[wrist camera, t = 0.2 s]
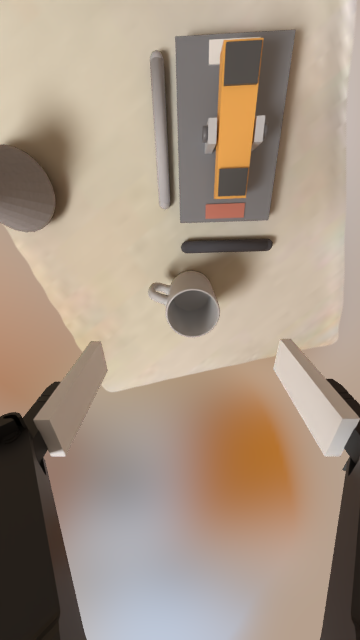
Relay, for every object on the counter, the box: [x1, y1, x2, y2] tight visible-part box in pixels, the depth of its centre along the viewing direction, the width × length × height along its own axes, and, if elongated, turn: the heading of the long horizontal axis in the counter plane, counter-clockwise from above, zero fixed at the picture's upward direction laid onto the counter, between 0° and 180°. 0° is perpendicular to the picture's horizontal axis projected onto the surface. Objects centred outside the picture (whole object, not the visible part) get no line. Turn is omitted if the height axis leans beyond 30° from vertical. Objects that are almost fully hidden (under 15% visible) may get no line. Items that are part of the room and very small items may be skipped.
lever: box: [214, 38, 264, 199], centre depth 26 cm, size 14×4×3 cm, turn 2°
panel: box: [175, 30, 295, 223], centre depth 28 cm, size 20×14×8 cm
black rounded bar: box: [181, 239, 272, 253], centre depth 37 cm, size 2×16×2 cm, turn 92°
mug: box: [148, 271, 220, 337], centre depth 37 cm, size 12×8×11 cm
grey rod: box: [150, 50, 170, 209], centre depth 31 cm, size 18×2×2 cm, turn 2°
